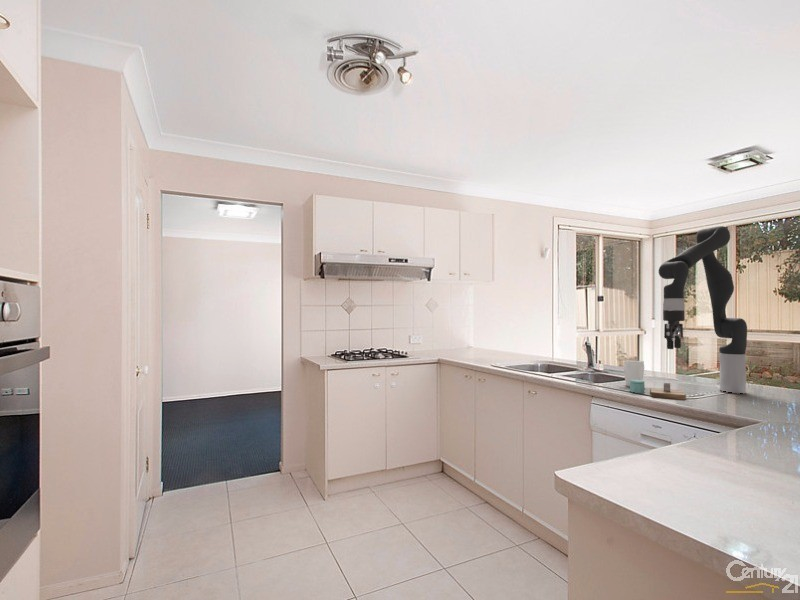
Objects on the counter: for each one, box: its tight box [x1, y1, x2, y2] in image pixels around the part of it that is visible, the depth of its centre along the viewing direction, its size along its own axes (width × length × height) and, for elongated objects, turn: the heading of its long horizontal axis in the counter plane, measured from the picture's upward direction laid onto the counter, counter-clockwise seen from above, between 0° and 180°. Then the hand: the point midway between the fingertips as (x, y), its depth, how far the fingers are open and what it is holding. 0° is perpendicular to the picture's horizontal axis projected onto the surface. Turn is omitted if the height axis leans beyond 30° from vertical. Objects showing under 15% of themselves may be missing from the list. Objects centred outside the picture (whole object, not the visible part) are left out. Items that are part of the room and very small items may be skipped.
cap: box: [629, 380, 645, 394], centre depth 186 cm, size 6×6×5 cm
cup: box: [622, 359, 645, 387], centre depth 202 cm, size 9×9×12 cm
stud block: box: [649, 382, 687, 401], centre depth 177 cm, size 12×12×6 cm
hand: (673, 348), depth 173 cm, fingers open, 8 cm apart
